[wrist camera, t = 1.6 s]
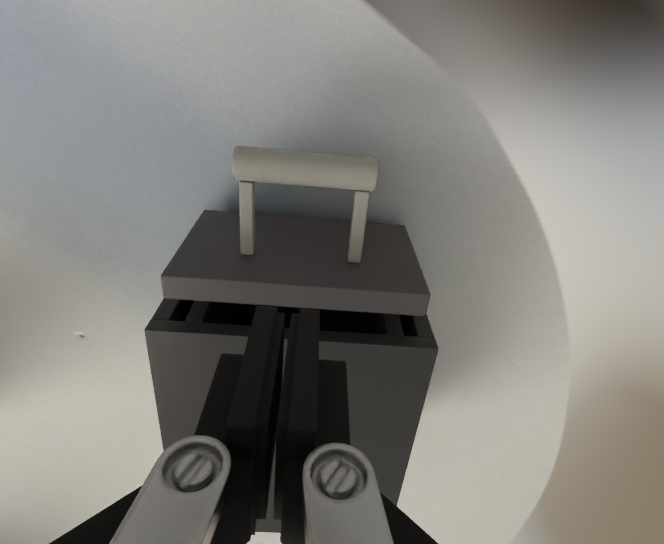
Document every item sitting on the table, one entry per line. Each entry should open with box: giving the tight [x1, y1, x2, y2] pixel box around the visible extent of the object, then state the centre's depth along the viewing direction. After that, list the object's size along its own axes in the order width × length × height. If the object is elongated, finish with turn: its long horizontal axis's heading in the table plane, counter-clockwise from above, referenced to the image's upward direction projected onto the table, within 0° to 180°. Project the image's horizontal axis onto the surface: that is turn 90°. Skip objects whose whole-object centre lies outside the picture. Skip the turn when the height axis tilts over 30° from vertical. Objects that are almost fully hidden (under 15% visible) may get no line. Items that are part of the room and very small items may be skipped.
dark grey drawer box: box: [145, 298, 438, 533], centre depth 26 cm, size 15×13×9 cm
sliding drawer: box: [161, 146, 430, 336], centre depth 24 cm, size 18×11×7 cm, turn 175°
